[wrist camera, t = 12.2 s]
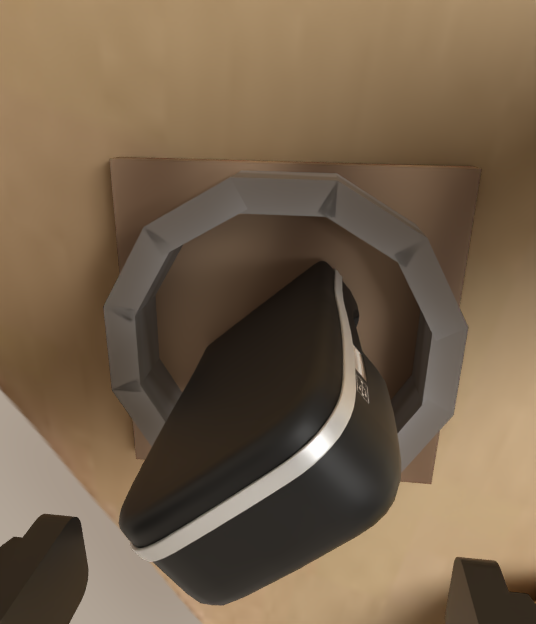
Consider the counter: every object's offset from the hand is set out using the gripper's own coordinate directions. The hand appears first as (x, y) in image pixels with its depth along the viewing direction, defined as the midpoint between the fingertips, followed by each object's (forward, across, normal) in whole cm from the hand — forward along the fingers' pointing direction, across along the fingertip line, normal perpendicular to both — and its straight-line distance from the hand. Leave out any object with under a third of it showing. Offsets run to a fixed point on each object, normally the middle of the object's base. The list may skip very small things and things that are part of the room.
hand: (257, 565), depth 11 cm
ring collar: (+13, +1, 0) cm, 13 cm away
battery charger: (+12, 0, 0) cm, 12 cm away
